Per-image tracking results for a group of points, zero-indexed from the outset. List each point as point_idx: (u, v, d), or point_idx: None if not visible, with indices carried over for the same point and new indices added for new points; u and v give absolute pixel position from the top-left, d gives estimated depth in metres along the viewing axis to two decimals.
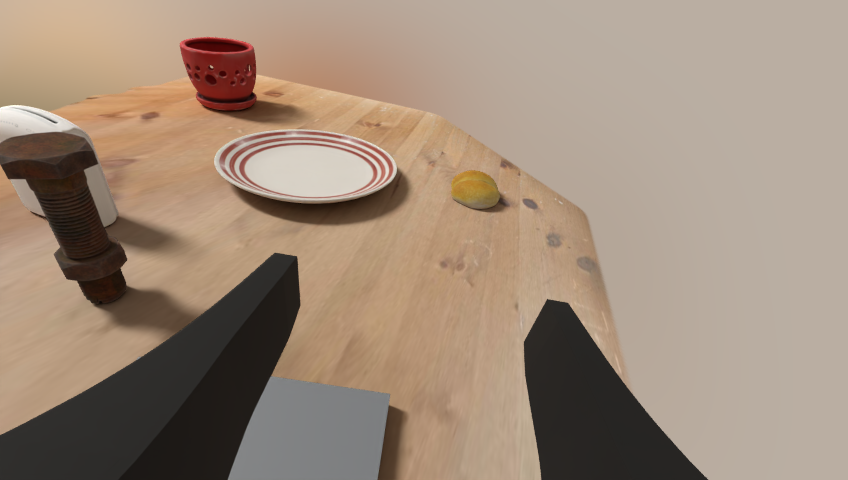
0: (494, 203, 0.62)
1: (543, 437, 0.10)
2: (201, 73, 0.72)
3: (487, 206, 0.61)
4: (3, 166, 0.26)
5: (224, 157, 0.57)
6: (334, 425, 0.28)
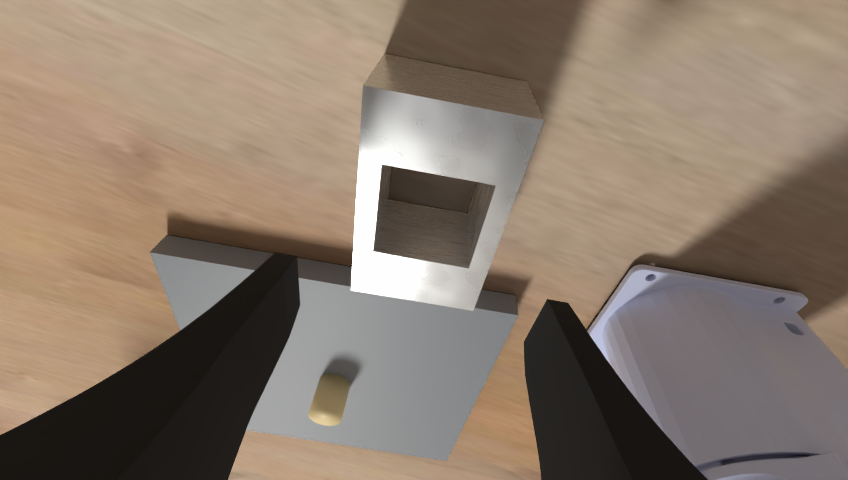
0: None
1: (543, 437, 0.10)
2: None
3: None
4: None
5: None
6: None
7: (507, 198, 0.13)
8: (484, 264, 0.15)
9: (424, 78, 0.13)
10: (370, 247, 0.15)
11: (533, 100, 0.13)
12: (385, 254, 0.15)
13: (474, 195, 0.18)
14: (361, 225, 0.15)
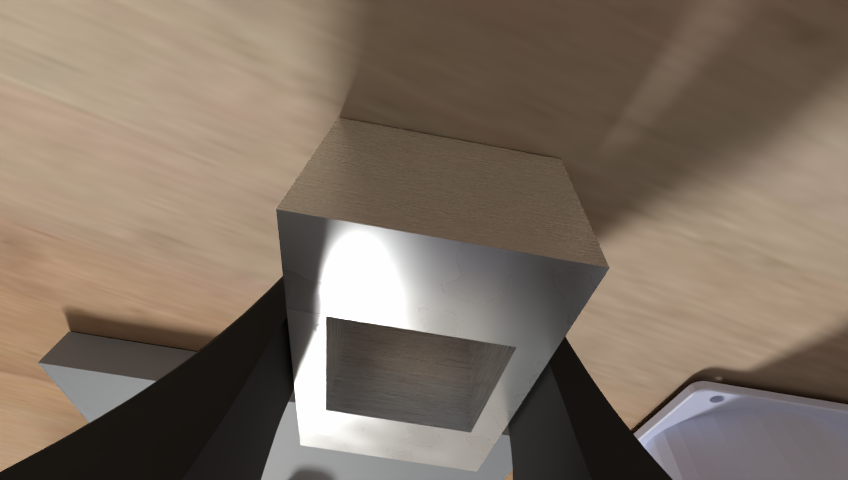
0: None
1: (515, 433, 0.10)
2: None
3: None
4: None
5: None
6: None
7: (534, 362, 0.08)
8: (494, 429, 0.10)
9: (397, 172, 0.08)
10: (321, 406, 0.10)
11: (579, 208, 0.08)
12: (345, 413, 0.10)
13: None
14: (304, 382, 0.09)
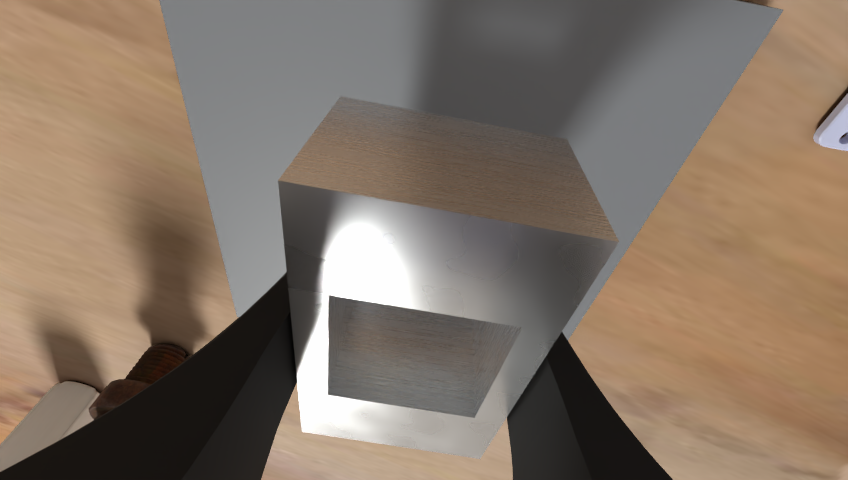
0: None
1: (515, 433, 0.10)
2: None
3: None
4: None
5: None
6: (255, 39, 0.14)
7: (540, 343, 0.08)
8: (498, 415, 0.10)
9: (401, 148, 0.08)
10: (323, 390, 0.10)
11: (587, 185, 0.08)
12: (347, 398, 0.10)
13: None
14: (306, 366, 0.09)
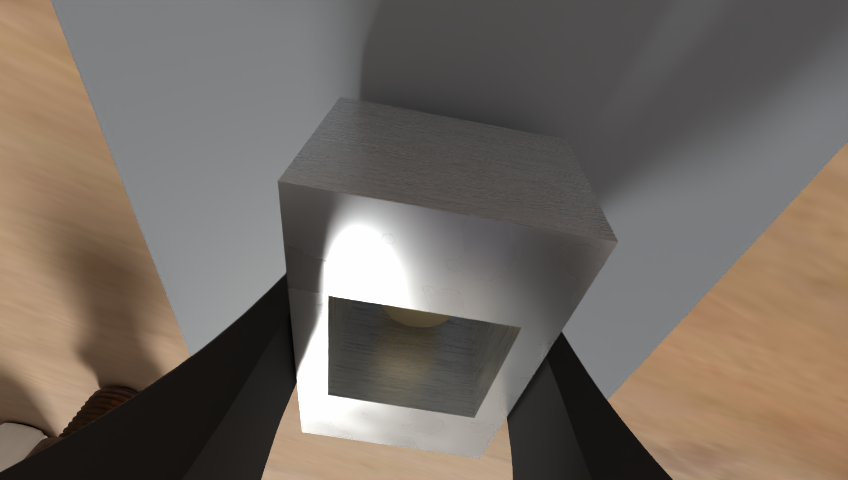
0: None
1: (515, 433, 0.10)
2: None
3: None
4: None
5: None
6: None
7: (540, 344, 0.08)
8: (498, 415, 0.10)
9: (401, 148, 0.08)
10: (323, 390, 0.10)
11: (586, 185, 0.08)
12: (347, 398, 0.10)
13: None
14: (306, 366, 0.09)
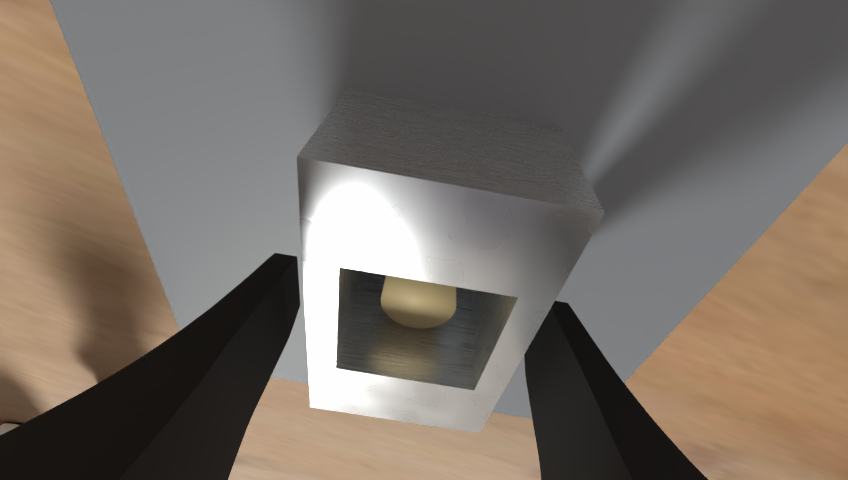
0: None
1: (543, 437, 0.10)
2: None
3: None
4: None
5: None
6: None
7: (535, 313, 0.09)
8: (496, 387, 0.11)
9: (406, 131, 0.08)
10: (332, 364, 0.11)
11: (577, 165, 0.08)
12: (354, 371, 0.11)
13: None
14: (316, 339, 0.10)
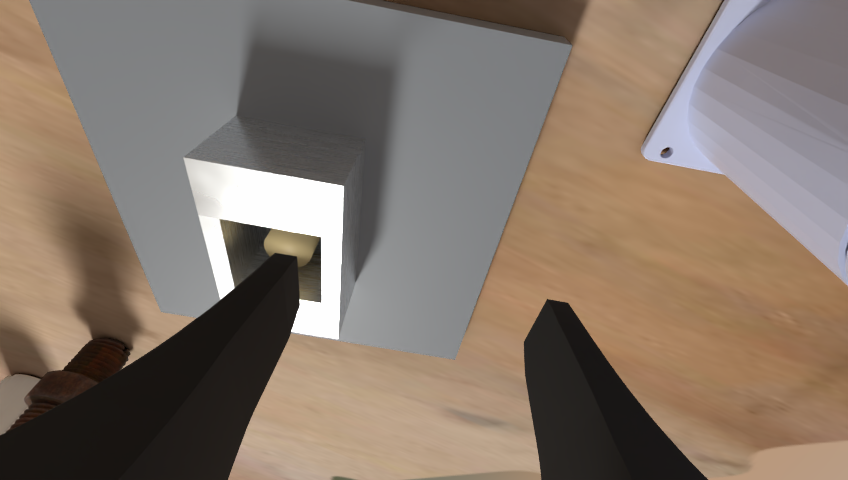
0: None
1: (543, 437, 0.10)
2: None
3: None
4: None
5: None
6: (130, 64, 0.15)
7: (334, 247, 0.15)
8: (334, 300, 0.17)
9: (256, 143, 0.15)
10: (231, 285, 0.17)
11: (352, 162, 0.15)
12: None
13: None
14: (218, 267, 0.16)
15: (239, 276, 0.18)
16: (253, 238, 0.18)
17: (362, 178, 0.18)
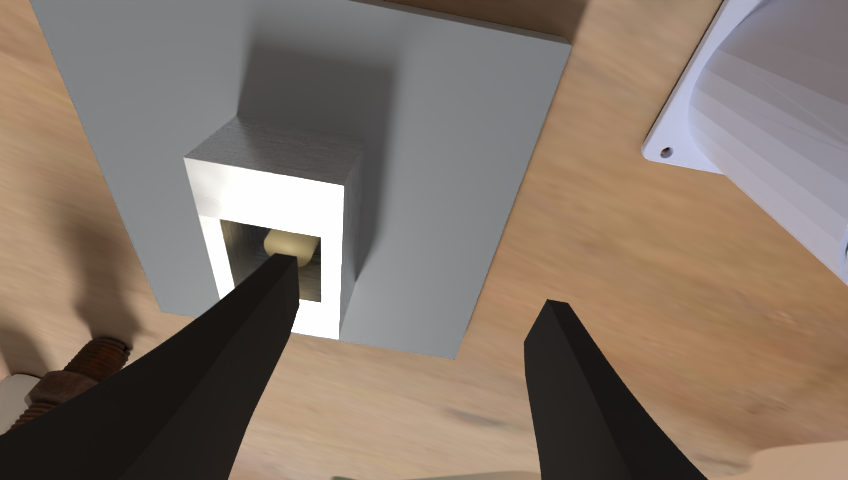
0: None
1: (543, 437, 0.10)
2: None
3: None
4: None
5: None
6: (130, 64, 0.15)
7: (334, 247, 0.15)
8: (334, 300, 0.17)
9: (256, 143, 0.15)
10: (231, 285, 0.17)
11: (352, 162, 0.15)
12: None
13: None
14: (218, 267, 0.16)
15: (239, 276, 0.18)
16: (253, 238, 0.18)
17: (362, 178, 0.18)
